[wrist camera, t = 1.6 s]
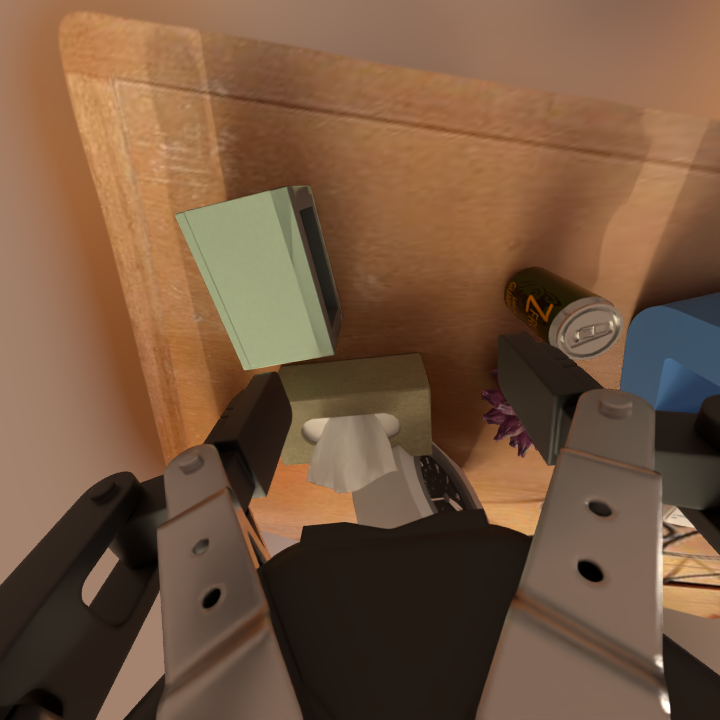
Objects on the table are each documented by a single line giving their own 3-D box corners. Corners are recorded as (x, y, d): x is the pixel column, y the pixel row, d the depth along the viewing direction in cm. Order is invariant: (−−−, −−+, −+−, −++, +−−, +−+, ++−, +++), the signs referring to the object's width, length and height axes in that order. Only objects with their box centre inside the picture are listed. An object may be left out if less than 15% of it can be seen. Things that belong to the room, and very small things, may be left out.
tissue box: (294, 423, 46) (262, 525, 33) (277, 366, 42) (231, 456, 28) (424, 412, 45) (448, 515, 31) (422, 351, 40) (449, 440, 26)
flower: (497, 327, 40) (594, 357, 39) (461, 405, 45) (545, 432, 44) (517, 365, 30) (650, 406, 28) (467, 459, 35) (578, 498, 34)
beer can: (549, 258, 34) (628, 291, 24) (553, 303, 37) (626, 351, 26) (498, 275, 35) (551, 313, 25) (505, 318, 38) (556, 370, 27)
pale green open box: (226, 205, 33) (173, 214, 24) (310, 185, 32) (287, 185, 23) (272, 329, 39) (243, 370, 31) (343, 315, 38) (334, 355, 29)
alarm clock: (476, 482, 51) (531, 637, 34) (437, 501, 54) (471, 654, 37) (393, 403, 43) (411, 553, 26) (352, 430, 46) (345, 583, 29)
